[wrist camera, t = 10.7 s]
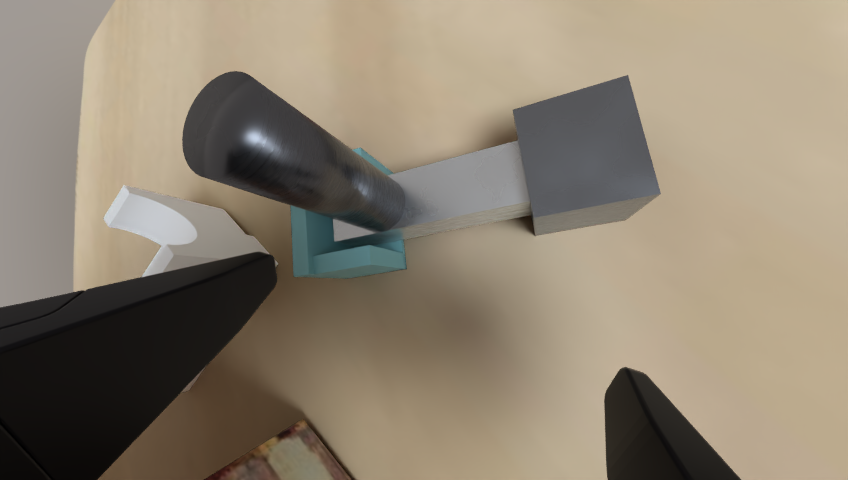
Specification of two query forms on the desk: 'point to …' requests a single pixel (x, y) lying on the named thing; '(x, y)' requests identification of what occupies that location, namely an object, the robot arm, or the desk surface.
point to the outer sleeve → (585, 157)
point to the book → (286, 459)
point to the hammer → (343, 170)
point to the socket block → (339, 246)
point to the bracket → (179, 231)
